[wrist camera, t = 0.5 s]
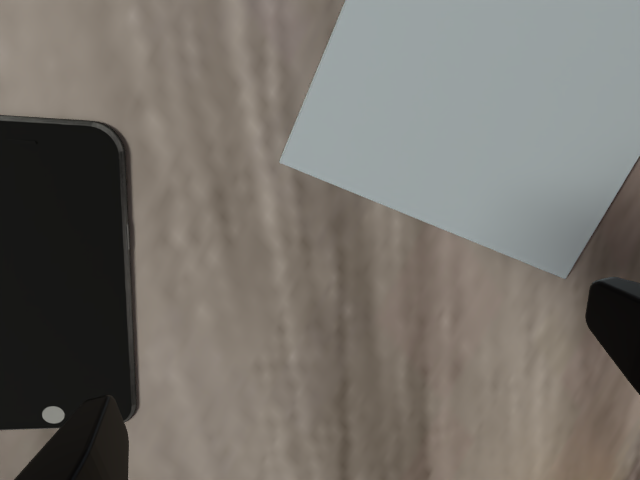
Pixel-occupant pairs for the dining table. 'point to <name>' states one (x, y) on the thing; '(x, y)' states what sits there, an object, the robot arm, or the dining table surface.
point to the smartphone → (63, 271)
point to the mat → (480, 116)
